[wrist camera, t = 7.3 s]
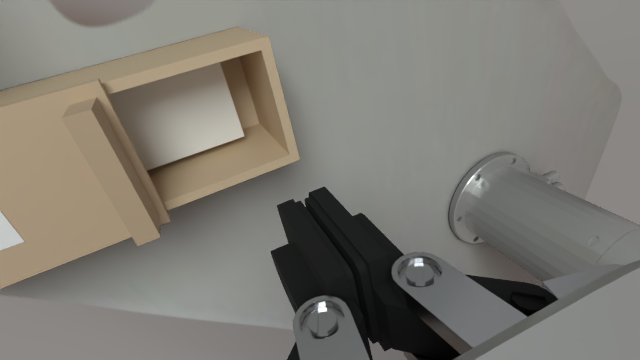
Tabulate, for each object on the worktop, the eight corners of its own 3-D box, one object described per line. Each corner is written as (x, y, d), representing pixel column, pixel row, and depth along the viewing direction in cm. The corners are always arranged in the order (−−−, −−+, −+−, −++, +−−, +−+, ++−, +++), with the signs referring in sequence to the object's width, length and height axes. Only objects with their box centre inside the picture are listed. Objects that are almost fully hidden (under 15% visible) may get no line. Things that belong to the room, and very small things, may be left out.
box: (237, 26, 27) (268, 36, 21) (266, 125, 31) (300, 159, 25) (-6, 92, 23) (-64, 129, 17) (64, 196, 27) (40, 259, 21)
